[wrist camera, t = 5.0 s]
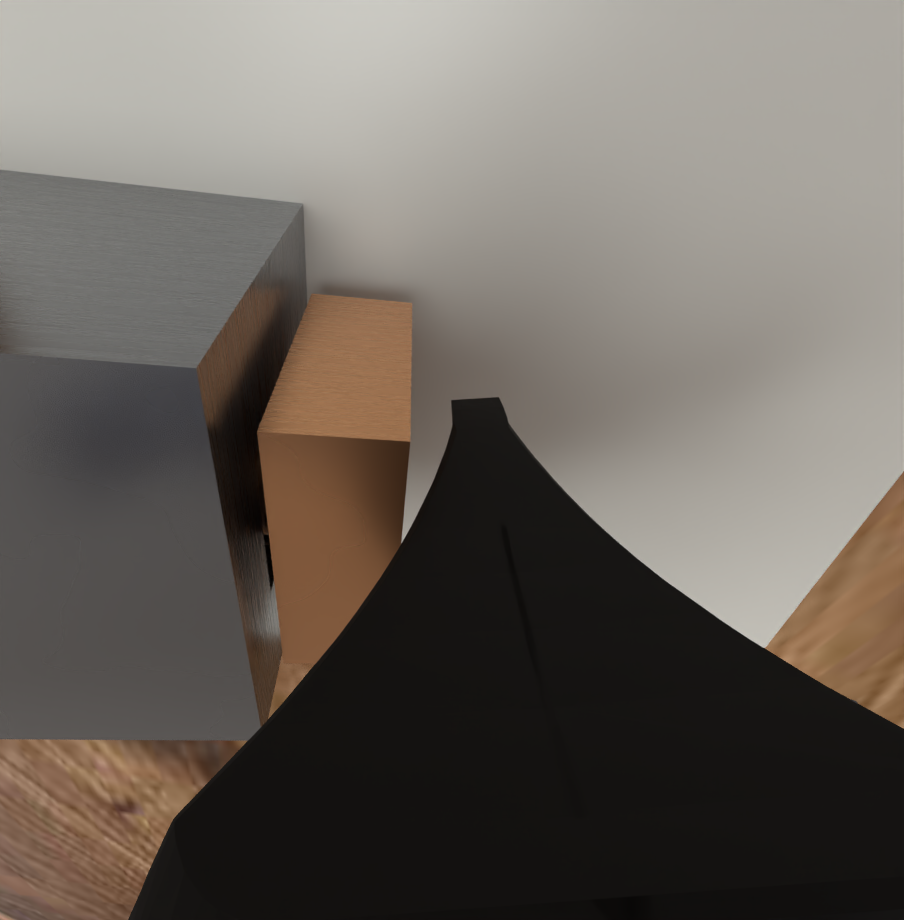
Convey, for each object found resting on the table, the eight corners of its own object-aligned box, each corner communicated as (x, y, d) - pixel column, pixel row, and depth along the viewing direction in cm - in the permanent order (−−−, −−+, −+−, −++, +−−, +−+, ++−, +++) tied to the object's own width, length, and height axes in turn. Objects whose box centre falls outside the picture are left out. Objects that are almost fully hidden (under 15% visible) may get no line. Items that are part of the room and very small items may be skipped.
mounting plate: (1296, -99, 7) (1358, -108, 7) (755, 630, 17) (765, 647, 17) (-242, -427, 5) (-307, -473, 5) (135, 611, 15) (126, 630, 14)
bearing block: (303, 203, 8) (195, 367, 4) (315, 498, 12) (263, 740, 8) (-58, 162, 8) (-575, 308, 4) (69, 485, 11) (-125, 738, 7)
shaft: (411, 302, 8) (410, 441, 6) (397, 499, 11) (390, 665, 8) (-304, 235, 7) (-755, 364, 5) (-144, 469, 10) (-374, 650, 7)
